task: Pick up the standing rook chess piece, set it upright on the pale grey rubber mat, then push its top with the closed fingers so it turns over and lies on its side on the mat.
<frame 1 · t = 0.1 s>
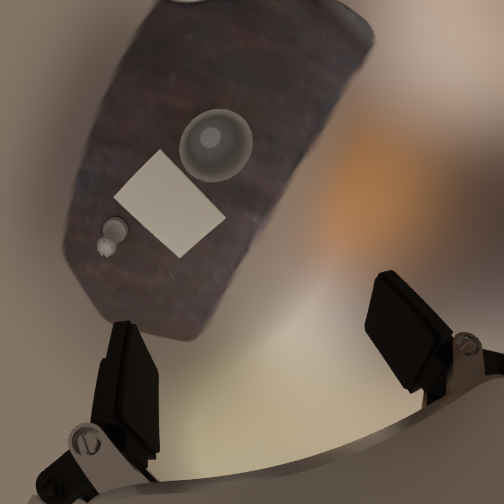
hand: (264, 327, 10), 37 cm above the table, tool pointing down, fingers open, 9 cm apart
rook chess piece: (116, 227, 44), on the table
grey mat: (169, 206, 45), on the table
chalice: (206, 132, 40), on the table
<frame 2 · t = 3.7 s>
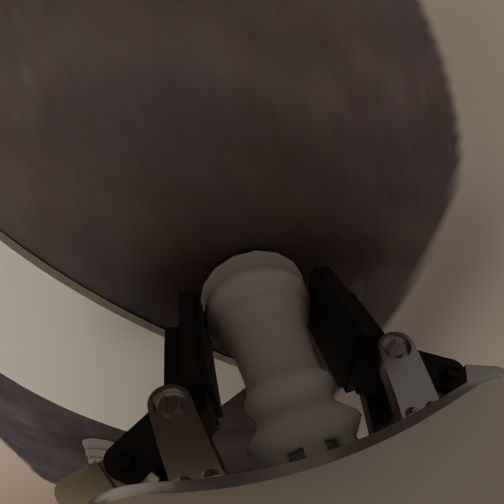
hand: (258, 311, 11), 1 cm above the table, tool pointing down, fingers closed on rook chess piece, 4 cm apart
rook chess piece: (250, 288, 12), on the table, touching gripper
grey mat: (90, 369, 13), on the table
chalice: (107, 447, 18), on the table
when the fingers open (3 cm above the table, at t = 9.5 s): rook chess piece stays where it is, resting on grey mat.
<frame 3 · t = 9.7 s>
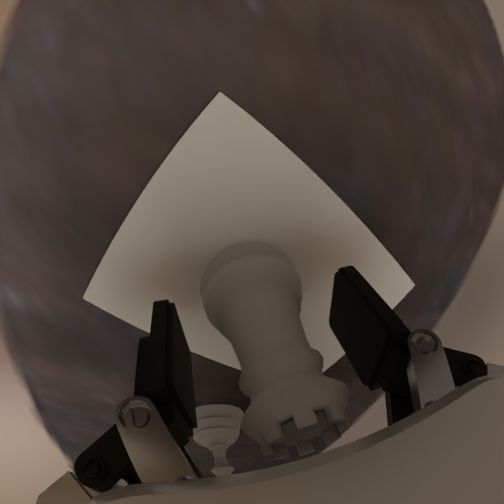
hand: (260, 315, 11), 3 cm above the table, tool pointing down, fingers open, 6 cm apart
rook chess piece: (246, 279, 13), resting on grey mat
grey mat: (274, 290, 14), on the table
chalice: (213, 416, 20), on the table
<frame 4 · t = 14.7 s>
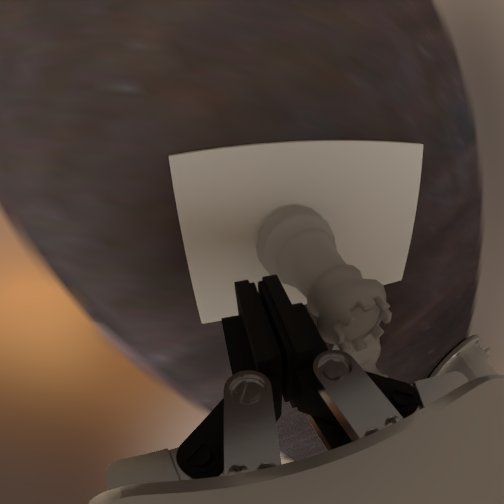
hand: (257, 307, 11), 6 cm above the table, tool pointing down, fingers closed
rook chess piece: (289, 237, 17), resting on grey mat, touching gripper
grey mat: (316, 228, 17), on the table
chalice: (354, 342, 24), on the table
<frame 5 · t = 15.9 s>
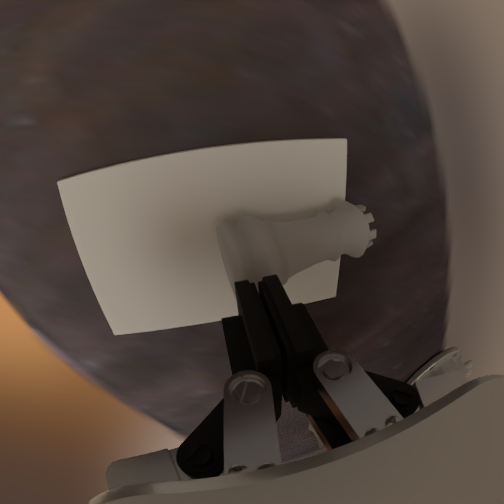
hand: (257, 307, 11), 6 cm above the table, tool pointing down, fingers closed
rook chess piece: (223, 266, 14), point 3 cm above the table, touching grey mat
grey mat: (212, 243, 16), on the table
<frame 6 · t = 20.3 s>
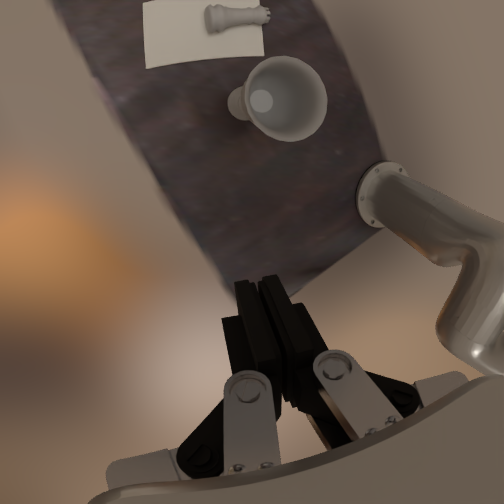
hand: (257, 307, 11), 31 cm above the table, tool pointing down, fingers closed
rook chess piece: (205, 19, 25), point 3 cm above the table, touching grey mat
grey mat: (202, 25, 28), on the table
chalice: (245, 103, 35), on the table
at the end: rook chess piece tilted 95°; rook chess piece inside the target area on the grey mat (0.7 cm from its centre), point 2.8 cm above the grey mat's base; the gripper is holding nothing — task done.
